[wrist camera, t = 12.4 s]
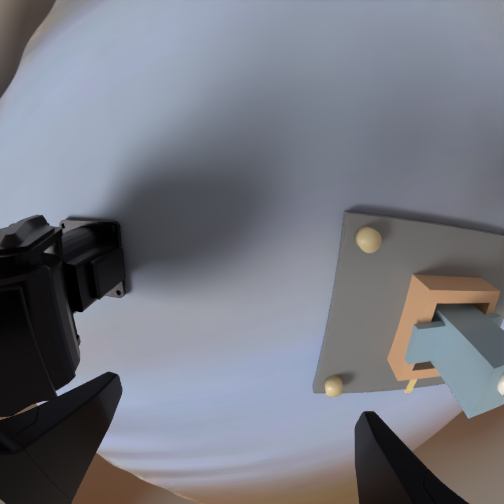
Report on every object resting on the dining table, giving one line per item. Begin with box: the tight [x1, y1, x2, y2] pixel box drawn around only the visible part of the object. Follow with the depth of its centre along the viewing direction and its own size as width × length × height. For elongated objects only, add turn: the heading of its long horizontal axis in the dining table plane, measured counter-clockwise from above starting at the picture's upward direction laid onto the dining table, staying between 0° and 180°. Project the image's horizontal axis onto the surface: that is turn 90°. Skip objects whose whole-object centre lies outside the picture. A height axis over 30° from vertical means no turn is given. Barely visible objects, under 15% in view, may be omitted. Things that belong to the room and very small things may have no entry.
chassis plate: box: [313, 211, 504, 397], centre depth 19 cm, size 20×16×4 cm
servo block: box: [404, 303, 504, 418], centre depth 15 cm, size 9×4×11 cm, turn 91°
